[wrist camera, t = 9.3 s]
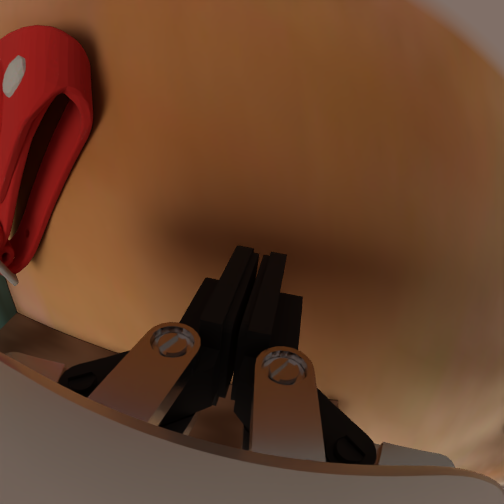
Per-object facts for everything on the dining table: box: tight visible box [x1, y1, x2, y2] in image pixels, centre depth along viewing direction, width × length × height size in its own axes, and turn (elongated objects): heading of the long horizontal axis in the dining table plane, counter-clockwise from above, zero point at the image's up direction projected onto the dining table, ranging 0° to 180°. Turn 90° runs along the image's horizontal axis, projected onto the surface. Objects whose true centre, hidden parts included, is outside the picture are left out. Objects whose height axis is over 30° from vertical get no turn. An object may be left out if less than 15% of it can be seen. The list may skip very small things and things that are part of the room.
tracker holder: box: [0, 25, 93, 286], centre depth 10 cm, size 12×4×10 cm
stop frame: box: [0, 274, 338, 449], centre depth 10 cm, size 25×21×6 cm
